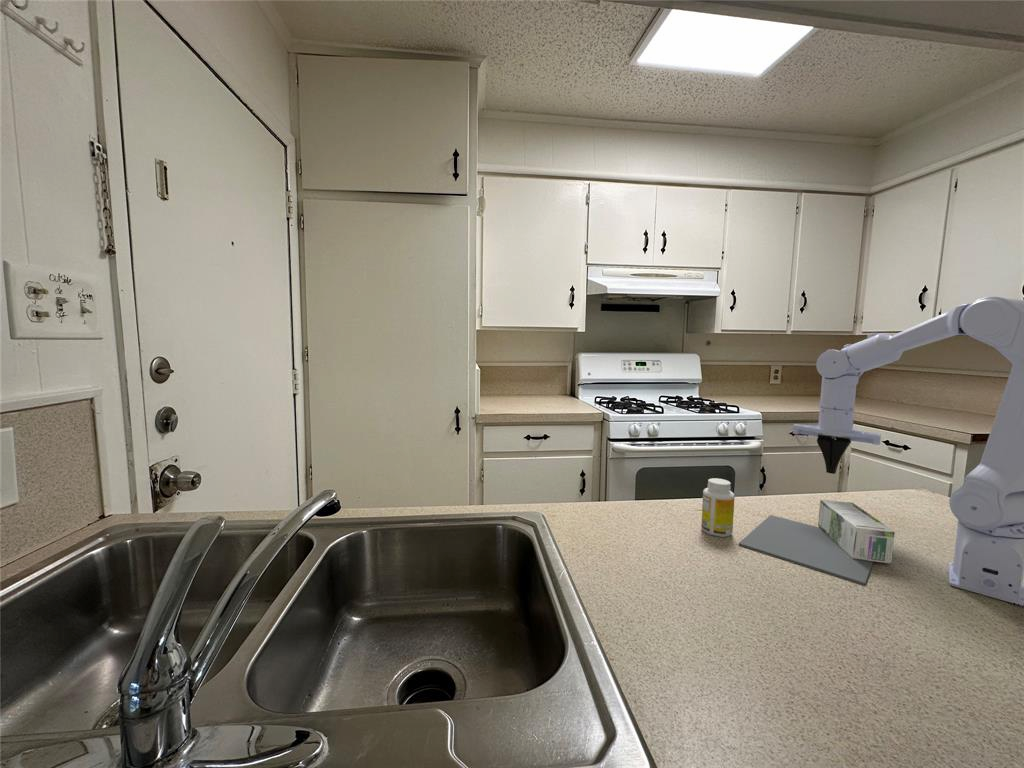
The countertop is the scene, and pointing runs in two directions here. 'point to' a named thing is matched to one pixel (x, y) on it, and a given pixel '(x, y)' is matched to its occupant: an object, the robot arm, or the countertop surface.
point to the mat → (806, 548)
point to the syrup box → (856, 531)
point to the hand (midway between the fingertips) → (831, 472)
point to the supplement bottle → (718, 508)
